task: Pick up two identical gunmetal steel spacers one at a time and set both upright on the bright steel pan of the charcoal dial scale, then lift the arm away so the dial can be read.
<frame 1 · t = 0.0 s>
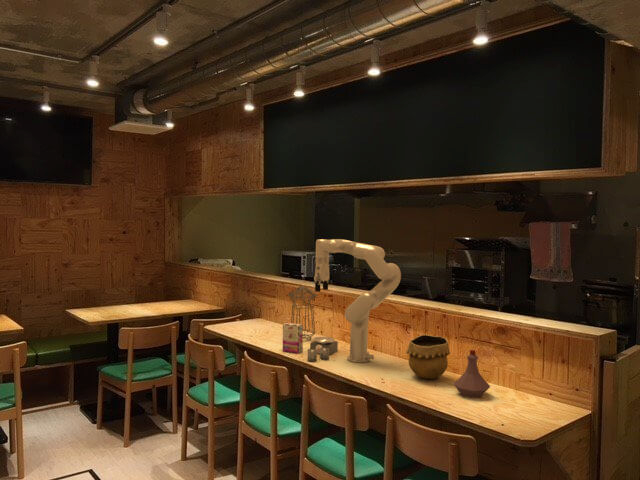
hand: (321, 290, 303), 37 cm above the counter, tool pointing down, fingers open, 9 cm apart
steel spacer 2: (312, 360, 290), on the counter
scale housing: (323, 352, 309), on the counter
flask: (471, 395, 239), on the counter
steel spacer 1: (324, 359, 294), on the counter
clay pot: (427, 378, 262), on the counter
candy bar box: (292, 352, 309), on the counter
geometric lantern: (301, 340, 339), on the counter
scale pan: (324, 339, 309), point 7 cm above the counter, slide at 0.0 cm
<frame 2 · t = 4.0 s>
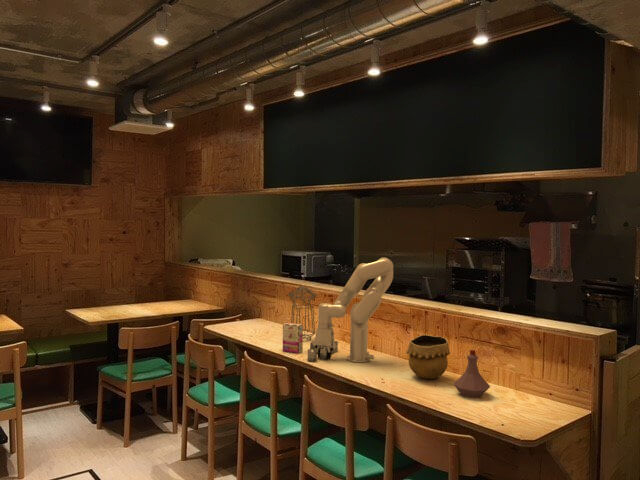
hand: (324, 357, 294), 1 cm above the counter, tool pointing down, fingers closed on steel spacer 1, 5 cm apart
steel spacer 1: (324, 359, 294), on the counter, touching gripper
everything else where it was.
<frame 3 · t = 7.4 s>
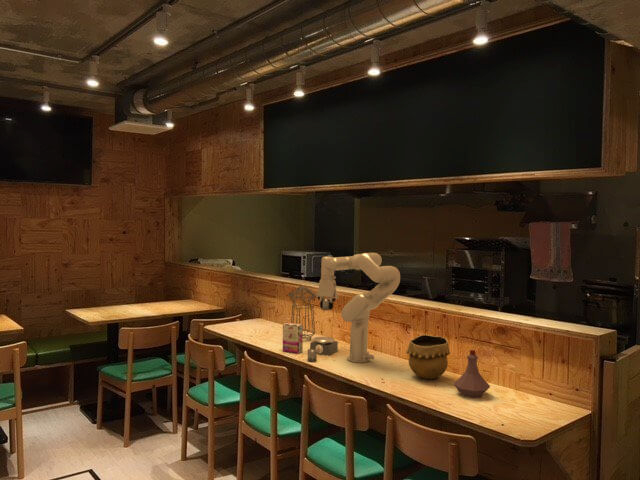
hand: (326, 308, 310), 26 cm above the counter, tool pointing down, fingers closed on steel spacer 1, 5 cm apart
steel spacer 1: (326, 309, 310), point 25 cm above the counter, touching gripper
everything else where it was.
when the fingers open (10 cm above the counter, at t = 10.9 s): steel spacer 1 drops 2 cm, resting on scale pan.
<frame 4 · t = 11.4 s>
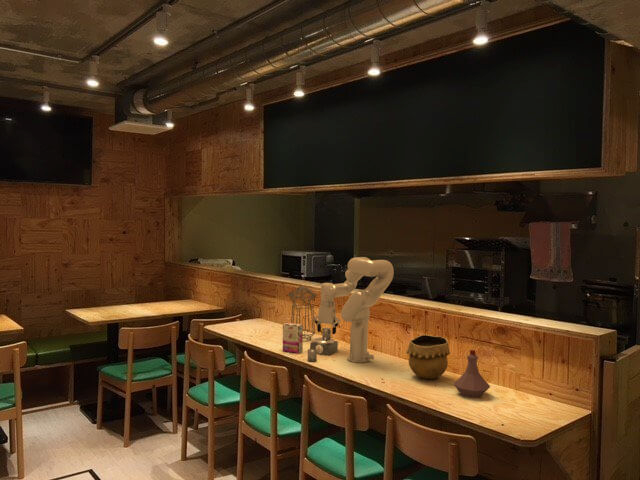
hand: (326, 332, 311), 11 cm above the counter, tool pointing down, fingers open, 9 cm apart
steel spacer 1: (326, 339, 311), point 7 cm above the counter, touching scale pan
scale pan: (324, 340, 309), point 7 cm above the counter, slide at -0.6 cm, touching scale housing, steel spacer 1
everything else where it was.
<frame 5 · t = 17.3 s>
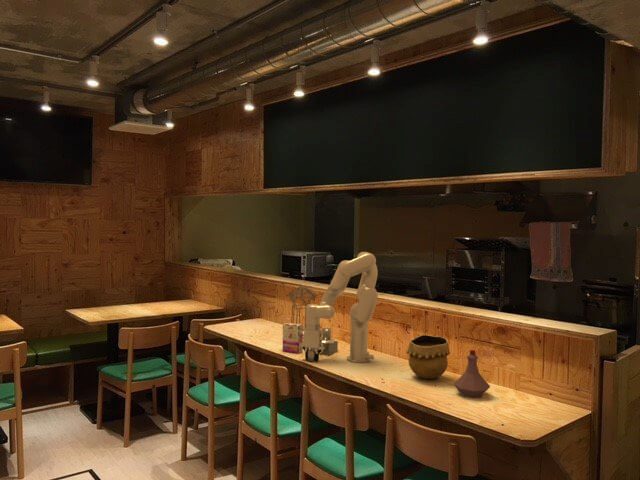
hand: (312, 359, 290), 1 cm above the counter, tool pointing down, fingers closed on steel spacer 2, 5 cm apart
steel spacer 2: (312, 360, 290), on the counter, touching gripper
everything else where it was.
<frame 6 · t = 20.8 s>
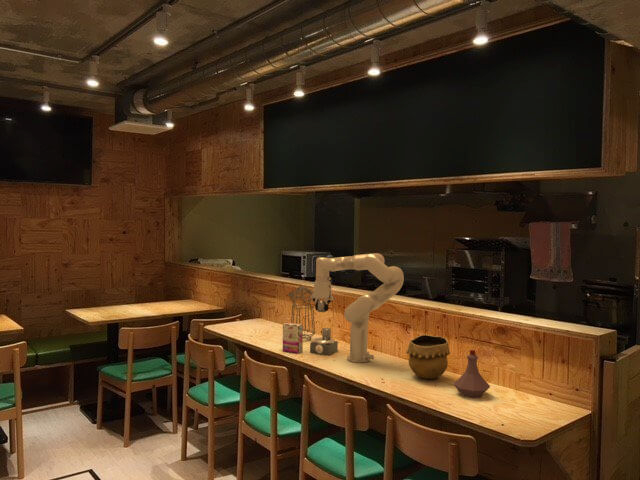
hand: (321, 310, 304), 25 cm above the counter, tool pointing down, fingers closed on steel spacer 2, 5 cm apart
steel spacer 2: (321, 311, 304), point 25 cm above the counter, touching gripper
everything else where it was.
when the fingers open (10 cm above the counter, at t = 24.3 s): steel spacer 2 drops 2 cm, resting on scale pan.
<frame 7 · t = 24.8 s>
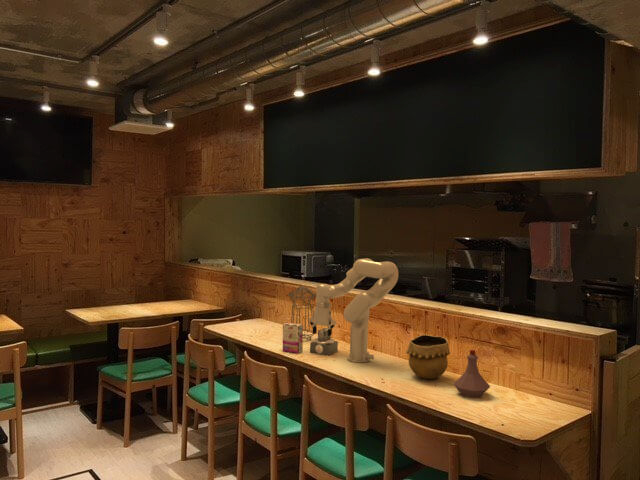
hand: (322, 334, 306), 11 cm above the counter, tool pointing down, fingers open, 9 cm apart
steel spacer 2: (322, 340, 306), point 7 cm above the counter, touching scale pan
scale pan: (324, 340, 309), point 7 cm above the counter, slide at -0.6 cm, touching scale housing, steel spacer 1, steel spacer 2
everything else where it was.
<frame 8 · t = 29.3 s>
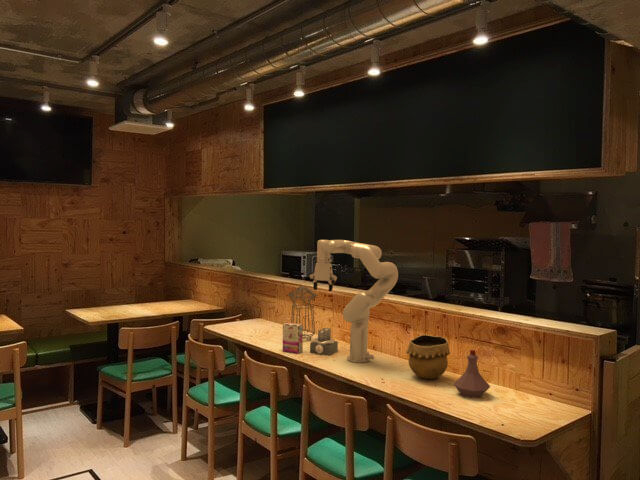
hand: (322, 290, 307), 36 cm above the counter, tool pointing down, fingers open, 9 cm apart
nothing on the counter moved.
at the end: steel spacer 1 inside the target area on the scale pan (2.8 cm from its centre), point 1.2 cm above the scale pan's base; steel spacer 2 inside the target area on the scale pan (2.9 cm from its centre), point 1.2 cm above the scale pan's base; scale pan slide at -0.6 cm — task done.
